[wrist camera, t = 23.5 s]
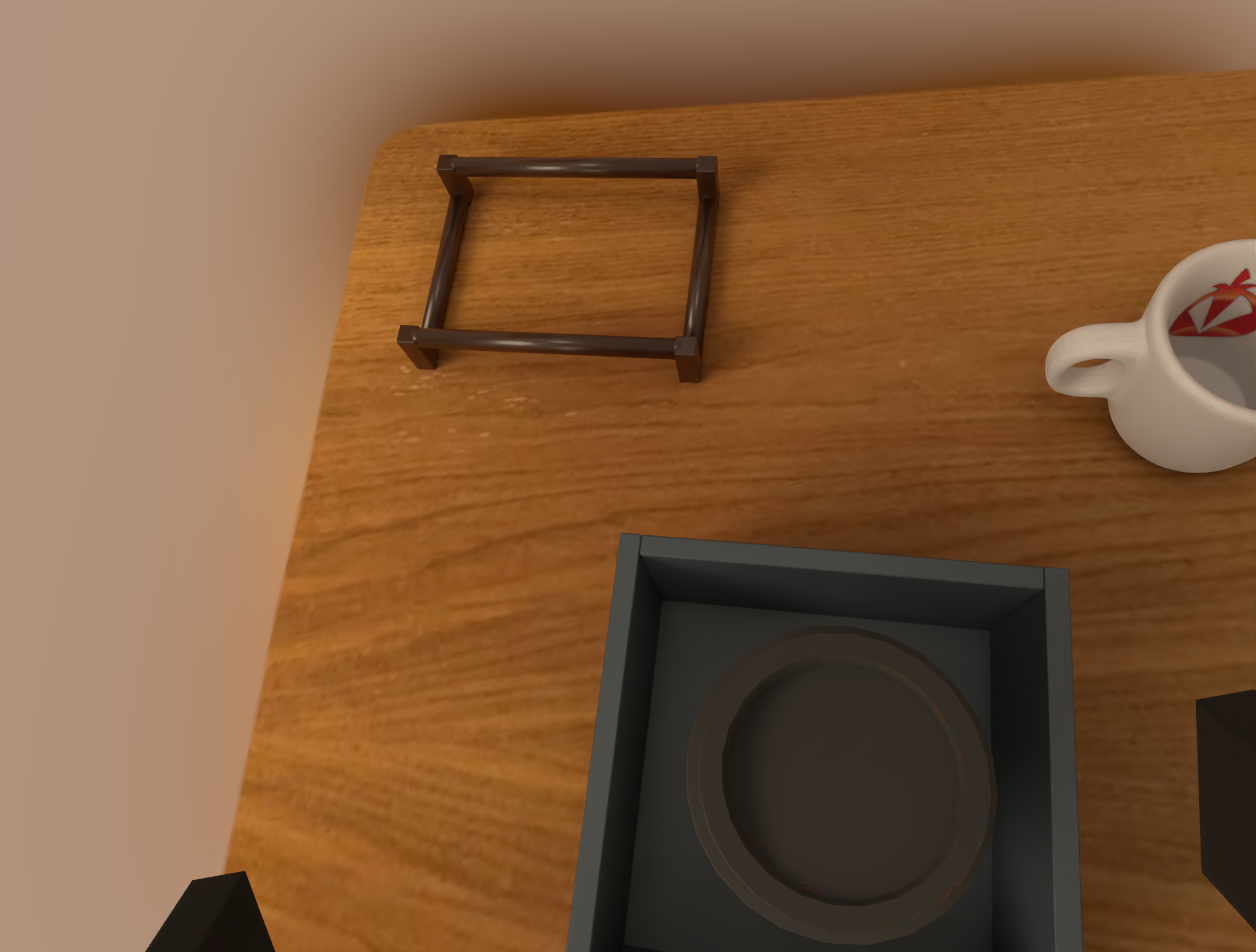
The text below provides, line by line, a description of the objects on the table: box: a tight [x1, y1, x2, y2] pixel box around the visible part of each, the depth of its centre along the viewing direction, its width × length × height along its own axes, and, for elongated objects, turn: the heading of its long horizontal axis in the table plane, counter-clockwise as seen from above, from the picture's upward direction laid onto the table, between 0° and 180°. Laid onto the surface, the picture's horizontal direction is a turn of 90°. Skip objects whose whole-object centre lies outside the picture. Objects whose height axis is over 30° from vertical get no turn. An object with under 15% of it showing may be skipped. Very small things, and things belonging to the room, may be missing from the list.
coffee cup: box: [686, 626, 998, 945], centre depth 30 cm, size 8×8×15 cm
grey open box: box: [566, 533, 1083, 952], centre depth 33 cm, size 16×16×9 cm
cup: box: [1045, 239, 1256, 473], centre depth 37 cm, size 11×8×8 cm
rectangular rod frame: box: [397, 155, 720, 383], centre depth 46 cm, size 15×11×3 cm
